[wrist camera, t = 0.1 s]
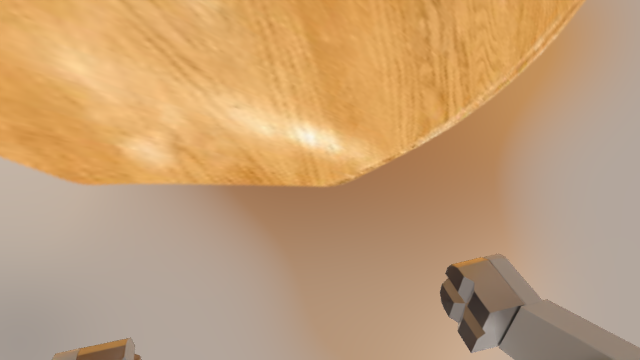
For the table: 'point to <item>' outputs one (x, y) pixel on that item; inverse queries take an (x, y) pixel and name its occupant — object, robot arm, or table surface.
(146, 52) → the table surface
